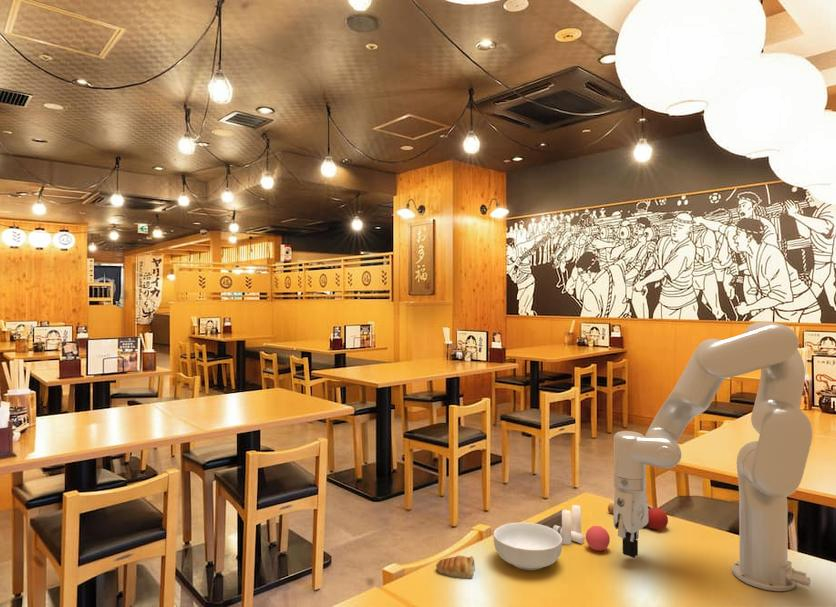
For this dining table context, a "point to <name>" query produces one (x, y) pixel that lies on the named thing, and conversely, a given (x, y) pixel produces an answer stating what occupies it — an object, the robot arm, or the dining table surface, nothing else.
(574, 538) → the front pin
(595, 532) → the ball
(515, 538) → the cereal bowl
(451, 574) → the pastry
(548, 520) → the wall
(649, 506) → the kendama
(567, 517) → the pin
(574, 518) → the pin
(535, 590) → the dining table surface
